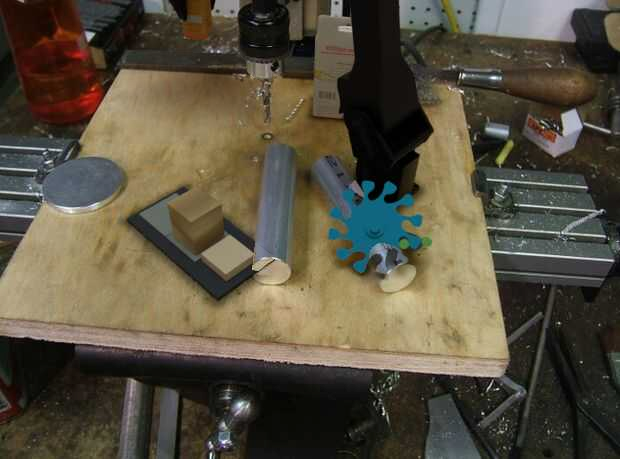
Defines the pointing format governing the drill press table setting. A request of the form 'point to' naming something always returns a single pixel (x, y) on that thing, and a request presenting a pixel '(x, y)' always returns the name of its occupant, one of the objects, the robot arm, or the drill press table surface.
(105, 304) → the drill press table surface
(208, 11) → the supplement box
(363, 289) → the drill press table surface
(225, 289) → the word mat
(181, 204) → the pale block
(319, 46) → the ink cartridge box
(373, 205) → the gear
